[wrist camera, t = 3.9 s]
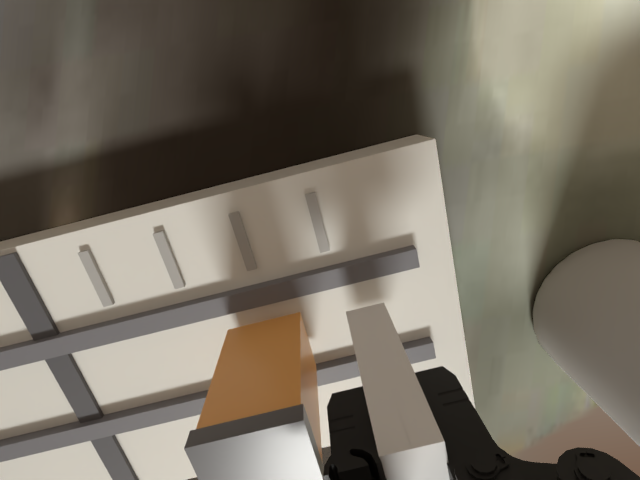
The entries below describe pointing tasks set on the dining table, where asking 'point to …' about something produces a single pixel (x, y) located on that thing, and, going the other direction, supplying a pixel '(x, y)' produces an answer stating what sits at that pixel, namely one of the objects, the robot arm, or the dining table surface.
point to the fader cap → (261, 407)
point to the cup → (596, 325)
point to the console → (213, 305)
